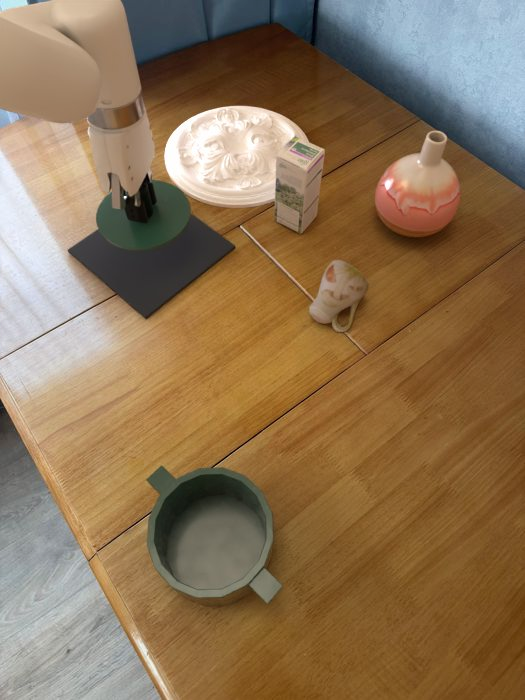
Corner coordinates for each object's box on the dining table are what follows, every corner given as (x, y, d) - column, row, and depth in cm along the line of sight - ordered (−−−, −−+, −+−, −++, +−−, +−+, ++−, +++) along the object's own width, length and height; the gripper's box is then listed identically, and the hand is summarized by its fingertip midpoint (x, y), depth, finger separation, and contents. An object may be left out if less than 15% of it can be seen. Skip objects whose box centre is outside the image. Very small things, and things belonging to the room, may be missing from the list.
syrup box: (318, 215, 94) (327, 147, 81) (300, 236, 91) (306, 168, 79) (290, 202, 95) (295, 133, 83) (272, 222, 93) (274, 154, 80)
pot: (232, 651, 60) (228, 650, 51) (124, 532, 66) (105, 514, 58) (310, 558, 65) (318, 543, 56) (203, 456, 71) (195, 429, 63)
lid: (139, 269, 78) (129, 237, 72) (78, 219, 83) (65, 186, 77) (210, 216, 83) (206, 182, 77) (149, 172, 88) (141, 137, 82)
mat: (145, 319, 82) (145, 317, 82) (68, 252, 89) (67, 249, 89) (235, 248, 90) (235, 245, 89) (157, 190, 97) (157, 188, 96)
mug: (294, 319, 83) (306, 259, 78) (331, 305, 89) (344, 249, 84) (331, 339, 79) (346, 278, 74) (367, 324, 85) (383, 266, 80)
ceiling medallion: (262, 230, 92) (262, 217, 89) (135, 171, 99) (131, 157, 96) (336, 139, 104) (338, 125, 101) (218, 93, 111) (217, 79, 109)
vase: (380, 186, 97) (402, 99, 82) (454, 206, 95) (491, 119, 80) (360, 238, 91) (379, 154, 76) (438, 261, 88) (475, 178, 73)
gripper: (109, 62, 70) (137, 171, 86) (58, 142, 62) (100, 246, 78) (163, 69, 70) (181, 178, 86) (118, 151, 62) (148, 255, 77)
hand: (142, 210), depth 82 cm, fingers closed on lid, 3 cm apart
